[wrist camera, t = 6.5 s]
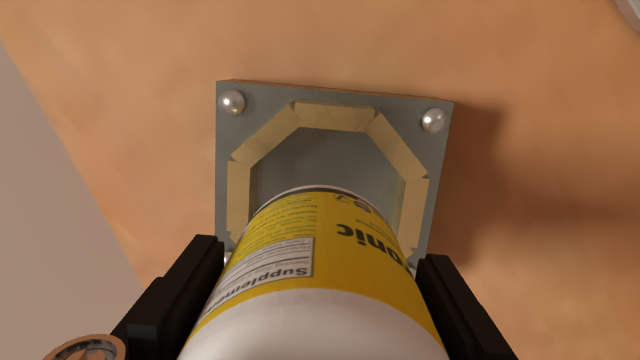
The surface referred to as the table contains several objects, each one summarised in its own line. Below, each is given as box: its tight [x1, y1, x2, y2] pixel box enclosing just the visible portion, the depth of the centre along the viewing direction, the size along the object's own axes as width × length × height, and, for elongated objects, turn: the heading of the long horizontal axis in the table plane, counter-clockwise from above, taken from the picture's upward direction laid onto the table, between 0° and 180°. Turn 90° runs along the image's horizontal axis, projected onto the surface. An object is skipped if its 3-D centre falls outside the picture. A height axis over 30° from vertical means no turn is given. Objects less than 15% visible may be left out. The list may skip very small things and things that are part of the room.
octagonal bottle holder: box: [215, 79, 454, 279], centre depth 19 cm, size 11×10×5 cm
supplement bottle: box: [176, 185, 450, 360], centre depth 8 cm, size 5×5×10 cm
